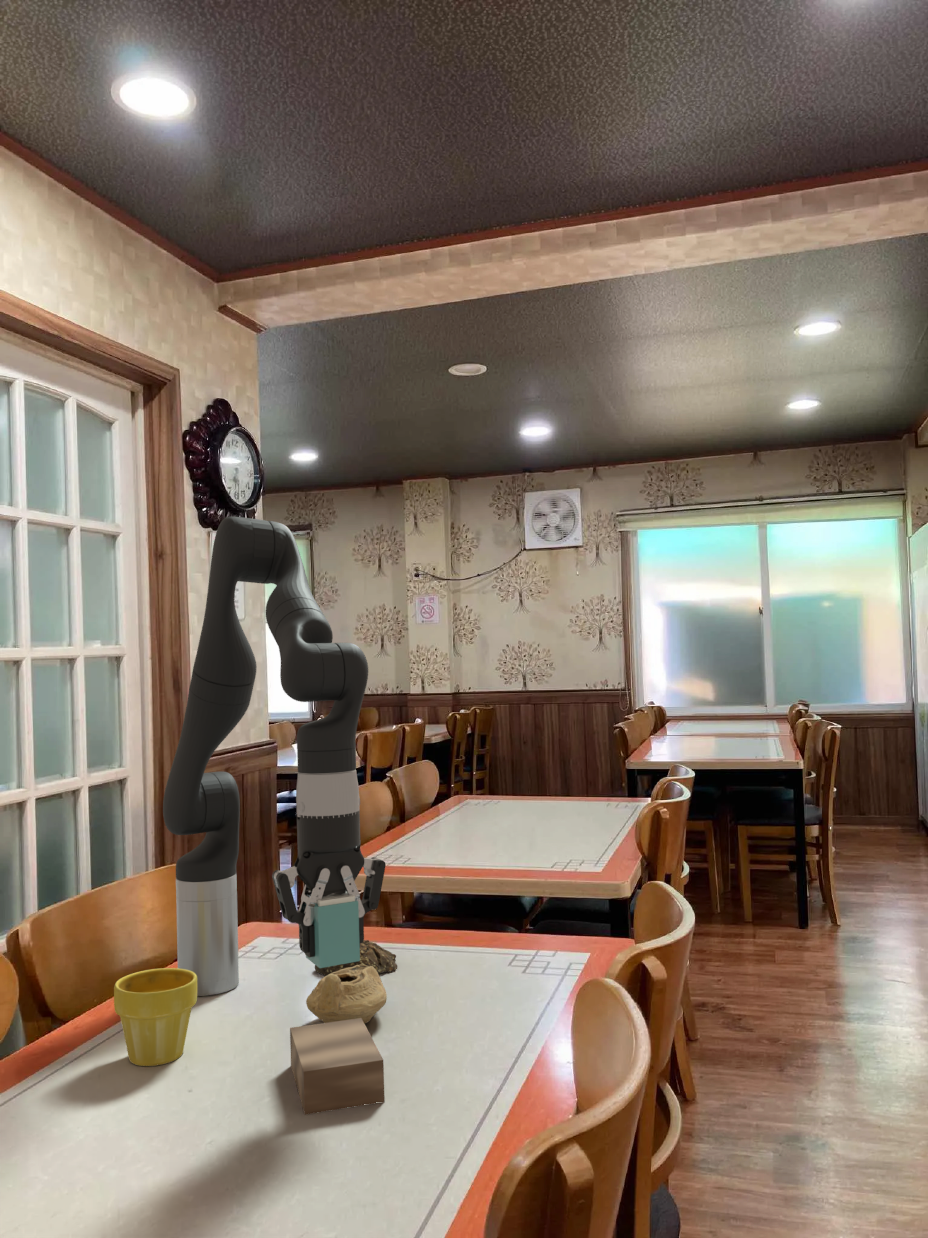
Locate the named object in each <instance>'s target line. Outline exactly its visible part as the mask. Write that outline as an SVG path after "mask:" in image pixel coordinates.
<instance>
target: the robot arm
mask: <svg viewBox="0 0 928 1238" xmlns="http://www.w3.org/2000/svg"><path fill="white" fill-rule="evenodd" d="M300 553H301V552H300V549H299V547H298V544H297V540H296V538H295V536H294V534H293V533H292V531H291V530H290V528H289V527H288V526H286V525H285V524H283V523H280V522H278V521H274V520H273V521H272V520H266V519H265V520H264V519H260V518H259V519H258V518H250V517H241V516H234V515H233V516H227V517H224V518H223V519H222V520H221V521H220V524H219V525H218V528H217V530H216V533H215V537H214V540H213V545H212V553H211V554H212V555H211V560H210V569H209V578H208V587H207V593H206V594H207V595H206V603H205V609H204V614H203V615H204V617H203V623H202V626H201V632H200V637H199V642H198V647H197V650H196V655H195V658H194V662H193V666H192V667H193V668H192V672H191V677H190V678H191V679H190V683H189V689H188V695H187V701H186V708H185V712H184V718H183V723H182V726H181V732H180V736H179V740H178V743H177V744H178V745H177V748H176V751H175V755H174V758H173V761H172V764H171V768H170V772H169V775H168V778H167V781H166V785H165V788H164V795H163V801H162V816H163V821H164V824H165V825H164V826H166V827H165V828H166V829H167V830H168V831H169V832H170V834H173V835H176V836H177V835H178V836H189V835H195V834H196V835H198V834H204V833H205V836H204V838H203V839H202V841H201V842H200V844H198V845H197V846H196V847H195V848H193V849H192V850H190V851H189V852H187V853H185V854H183V855H182V856H181V857H179V858H178V859H177V861H176V863H175V890H176V891H175V895H176V896H175V897H176V898H175V900H176V942H177V944H176V945H177V950H176V951H177V953H176V954H177V968H179V969H186V970H190V971H192V972H194V973H195V974H196V975H197V997H201V996H202V997H203V996H213V995H218V994H223V993H226V992H228V991H231V990H233V989H235V988H237V987H238V986H239V984H240V978H239V977H240V976H239V972H240V971H239V928H238V927H239V926H238V924H239V922H238V891H237V889H238V888H237V885H238V884H237V880H238V879H237V862H238V858H239V852H240V851H239V850H240V818H241V817H240V815H241V813H240V812H241V801H240V798H241V797H240V792H239V787H238V784H237V781H236V779H235V778H234V776H233V775H232V774H231V773H230V772H227V771H209V772H205V770H206V768H207V765H208V764H209V761H210V759H211V758H212V756H213V754H214V753H215V751H216V750H217V749H218V748H219V746H220V745H221V744H222V743H223V741H224V740H225V739H226V738H227V737H228V735H230V733H232V731H233V730H234V729H235V728H236V726H237V725H238V724H239V723H240V721H241V720H242V719H243V718H244V715H245V714H246V712H247V711H248V708H249V706H250V704H251V699H252V696H253V691H254V687H255V681H256V675H257V661H256V657H255V654H254V652H253V651H254V650H252V646H251V644H250V643H249V639H248V638H247V636H246V634H245V632H244V629H243V627H242V625H241V622H240V619H239V616H238V613H237V610H236V603H235V597H236V595H235V593H236V588H237V587H236V586H237V584H238V582H240V583H242V582H244V583H251V584H253V583H254V584H261V585H262V584H263V585H268V584H272V585H275V587H274V588H273V590H272V592H271V593H270V595H269V596H268V599H267V602H266V605H265V620H266V623H267V626H268V629H269V631H270V633H271V634H272V637H273V639H274V640H275V642H276V645H277V646H278V651H279V657H280V670H279V671H280V675H279V676H280V685H281V687H282V690H283V691H284V694H285V695H287V696H288V697H289V698H291V699H292V700H294V701H296V702H301V703H311V702H312V703H313V702H328V701H329V702H331V701H333V705H332V707H331V710H330V711H329V713H328V714H327V715H326V716H325V717H322V718H320V719H317V720H313V721H310V722H307V723H305V724H302V725H301V726H300V727H299V728H298V730H297V734H296V750H297V751H296V754H297V755H296V757H297V779H296V780H297V781H296V787H295V788H296V789H295V790H296V791H295V792H296V793H295V802H296V805H295V806H296V832H297V833H296V835H297V839H296V840H297V841H296V842H297V858H296V860H295V862H294V865H293V866H291V867H289V868H286V869H283V870H278V869H275V870H274V871H273V872H272V874H271V877H272V881H273V885H274V889H275V892H276V897H277V900H278V904H279V906H280V907H279V908H280V912H281V915H282V917H283V919H285V920H287V921H288V922H289V923H291V924H295V923H296V924H298V941H299V942H298V944H299V945H298V946H299V947H298V948H300V951H302V952H303V953H304V954H305V957H306V956H308V957H309V958H310V957H315V927H314V925H313V924H312V923H313V920H314V907H315V905H318V900H321V899H322V897H323V896H328V895H330V894H333V893H336V894H343V893H346V891H347V894H348V895H349V896H350V895H354V896H355V900H357V901H358V910H359V945H360V943H363V940H365V927H364V926H365V925H364V920H365V919H364V917H365V915H366V914H367V913H369V912H370V911H375V910H377V909H378V907H379V904H380V898H381V892H382V887H383V883H384V882H383V881H384V876H385V871H386V867H387V866H386V862H385V861H384V860H382V859H380V858H378V857H375V856H374V857H370V858H368V857H365V856H364V854H362V851H361V817H360V816H361V815H360V813H361V812H360V811H361V810H360V805H361V798H360V788H359V787H360V786H359V782H358V781H359V780H358V775H357V770H356V769H357V752H356V751H357V750H356V746H357V745H356V737H357V736H356V735H357V730H358V723H359V717H360V712H361V708H362V704H363V700H364V697H365V692H366V690H367V683H368V679H369V665H368V660H367V658H366V655H365V653H364V651H363V650H362V649H361V648H360V647H359V646H358V645H357V644H354V643H352V642H333V637H334V636H333V630H332V627H331V624H330V623H329V621H328V619H327V617H326V616H325V614H324V612H323V610H322V609H321V608H320V606H319V604H318V603H317V601H316V598H314V596H313V594H312V591H311V588H310V585H309V581H308V577H307V573H306V569H305V565H304V563H303V559H302V556H301V554H300ZM362 869H363V873H364V875H366V878H365V883H364V887H363V893H362V899H361V894H360V893H359V892H360V891H359V890H358V887H357V884H356V882H355V881H356V879H357V878H358V876H359V874H360V873H361V872H362V871H361V870H362ZM297 876H298V878H299V879H300V880H301V882H302V883H303V884H304V887H303V890H302V893H301V897H300V901H301V902H300V905H299V909H298V910H297V906H296V902H295V899H294V895H293V891H292V888H293V887H294V886H295V884H296V881H295V879H296V878H297Z"/></svg>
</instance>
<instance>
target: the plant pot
mask: <svg viewBox="0 0 928 1238" xmlns="http://www.w3.org/2000/svg"><path fill="white" fill-rule="evenodd" d="M197 1000H198V996H197V975H196V974H195V973H194V972H192V971H190V970H186V969H179V968H178V967H176V968H175V967H163V968H151V969H145V970H141V971H137V972H134V973H133V972H132V973H130V974H128V975H125V976H123V977H121V978H119V979H118V980H117V981H116V982H115V984H114V987H113V1006H114V1012H115V1014H116V1015H118V1016H119V1017H120V1022H121V1027H122V1031H123V1036H124V1041H125V1046H126V1051H127V1055H128V1060H129V1062H130V1063H132V1064H133V1065H136V1066H139V1067H154V1066H155V1067H156V1066H162V1065H165V1064H169V1063H172V1062H174V1061H177V1060H178V1059H179V1058H180V1057H181V1056H182V1055H183V1054H184V1049H185V1043H186V1037H187V1033H188V1029H189V1025H190V1023H189V1022H190V1017H191V1013H192V1008H193V1007H194V1006H195V1005H196V1004H197Z"/></svg>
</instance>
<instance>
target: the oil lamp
mask: <svg viewBox="0 0 928 1238" xmlns="http://www.w3.org/2000/svg"><path fill="white" fill-rule="evenodd" d="M387 995H388V994H387V990H386V989H385V987H384V985H383V982H382V979H381V977H380V974H378V972H377V971H376V969H375V968H374V967H373V966H367V965H355V966H353V967H349V968H345V969H341V970H339V971H336V972H333V973H331V974H328V975H327V976H325V975H324V977H322V978H321V979H320V980H318V982H317V984H316V986H315V987H314V988H313V989H312V990H311V992H310V994H309V995H308V996H307V998H306V1000H305V1004H306V1007H307V1009H308V1011H310V1012H311V1013H312V1014H313V1015H314V1016H316V1018H318V1019H319V1020H320V1021H322V1023H329V1022H336V1021H343V1020H351V1019H358V1018H362V1020H363V1022H364V1024H365V1025H366V1024H367V1023H369V1022H370V1021H371V1020H372V1018H373V1017H374V1016H375V1015H376V1013H378V1012H379V1011H380V1010H381V1009H382V1008H383V1007H384V1006H385V1005H386V1003H387V1000H388V999H387V998H388V997H387Z"/></svg>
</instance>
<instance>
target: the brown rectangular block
mask: <svg viewBox="0 0 928 1238" xmlns="http://www.w3.org/2000/svg"><path fill="white" fill-rule="evenodd" d="M289 1034H290V1035H289V1036H290V1037H289V1038H290V1040H289V1041H290V1044H289V1045H290V1067H291V1071H292V1074H293V1078H294V1082H295V1084H296V1088H297V1092H298V1095H299V1100H300V1099H301V1100H300V1103H301V1106H302V1110H303V1114H304V1116H306V1115H313V1114H318V1113H317V1112H319V1113H325V1112H331V1110H332V1111H337V1110H338V1111H339V1110H344V1109H348V1108H347V1107H351V1108H355V1107H354V1106H357V1107H362V1106H365V1105H364V1104H369V1105H373V1104H374V1103H375V1104H377V1103H376V1102H382V1103H385V1101H386V1098H385V1076H384V1075H385V1071H384V1069H385V1067H384V1059H383V1056H382V1055H381V1053H380V1050H379V1049H378V1047H377V1045H376V1043H375V1041H374V1039H373V1037H372V1035H371V1033H370V1032H369V1030H368V1028H367V1026H366V1023H365V1024H364V1022H363V1020H362V1018H358V1019H351V1020H343V1021H336V1022H329V1023H324V1022H321V1023H314V1024H307V1025H300V1026H293V1027H292V1026H291V1027H290V1028H289Z"/></svg>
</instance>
